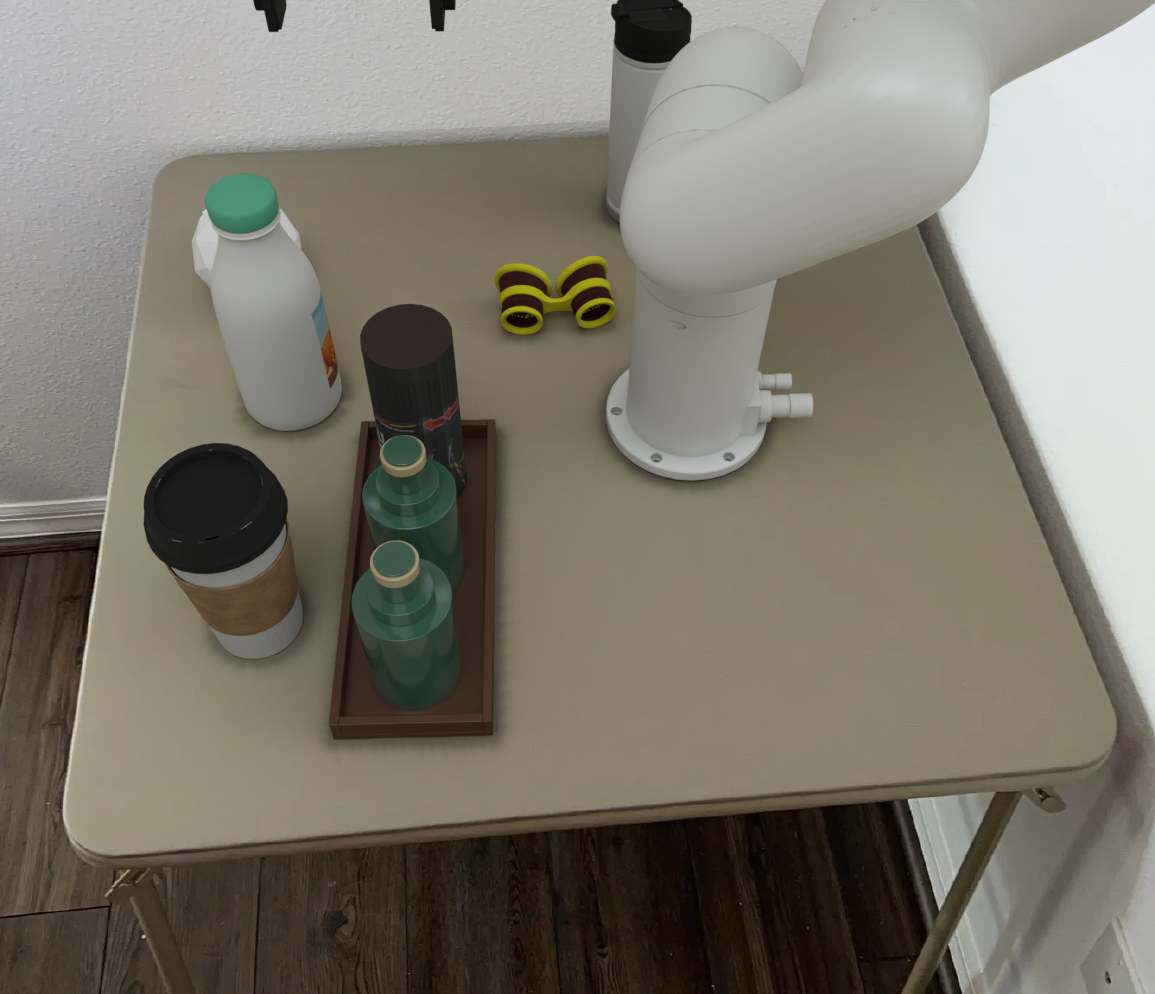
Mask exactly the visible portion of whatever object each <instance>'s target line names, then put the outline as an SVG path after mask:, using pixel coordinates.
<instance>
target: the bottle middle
mask: <svg viewBox="0 0 1155 994" xmlns="http://www.w3.org/2000/svg"><path fill="white" fill-rule="evenodd" d="M380 459H381V464H382V465H381V466H379V467H378V468H377V469H375V470H374V471H373V472H372V473H371V475H370V476H369V477H368V479H367V481H366V483H365V485H364V488H363V493H362V499H363V505H364V509H365V514H366V518H367V523H368V527H369V531H370V536H371V540H372V545H373V549H374V551H375V549H376V548H377V547H379V546H380V545H382V544H384V543H386V542H389V541H404V542H407V543H409V544H411V545H412V546H413V547H414V548H415V549H416V550H417V552H418V555H419V558H421V559H424V560H427V561H429V562H431V563H433V564H435V565H436V566H437V567H439V568H440V569H441V570H442V571H443V572H444V574H445V575H446V576H447V578H448V580H449V582H450V585H451V589H452V592H453V591H454V590H455V589H456V588H457V587H458V585H459V584H460V582H461V580H462V578H463V575H464V570H465V562H464V554H463V545H462V536H461V527H460V518H459V509H458V500H457V491H456V485H455V481H454V478H453V476H452V475H451V473H450V472H449V471H448V470H447V469H446V468H445V467H444V466H443V465H442V464H440V463H439V462H437V461H435V460H432V459H430V458H427V457H426V450H425V446H424V444H423V443H422V442H421V441H420V440H419V439H417V438H415V437H413V436H409V435H400V436H395V437H393V438H391V439H389V440H388V441H386V442H385V443H384V445H383V446H382V448H381V450H380Z"/></svg>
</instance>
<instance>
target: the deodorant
mask: <svg viewBox="0 0 1155 994" xmlns="http://www.w3.org/2000/svg"><path fill="white" fill-rule="evenodd" d="M450 323H451V322H450V321H449V319H448V318H447V317H446V316H445V315H444V314H443V313H442V312H440V311H438V310H436V309H435V308H433V307H430V306H427V305H424V304H418V303H404V304H403V303H402V304H401V303H400V304H395V305H392V306H388V307H385V308H384V309H382V310H379V311H378V312H375V314H373V315H372V316H371V317H369V318H368V319H367V320H366V322H365V323H364V325H363V326H362V328H361V331H360V335H359V345H360V350H361V355H362V360H363V361H362V362H363V365H364V370H365V377H366V381H367V386H368V392H369V397H370V402H371V407H372V412H373V413H372V414H373V417H374V421H375V424H376V429H377V434H378V439H379V444H380V450H381V448H382V446H383V445H384V443H385V442H386V441H388V440H389V439H391V438H393V437H395V436H400V435H409V436H413V437H415V438H417V439H419V440H420V441H421V442H422V443H423V444H424V446H425V450H426V457H427V458H430V459H432V460H435V461H437V462H439V463H440V464H442V465H443V466H444V467H445V468H446V469H447V470H448V471H449V472H450V473H451V475H452V476H453V478H454V481H455V485H456V491H457V498H458V497H459V496H461V494H462V492H463V490H464V489H465V486H466V482H467V475H466V465H465V455H464V445H463V435H462V425H461V420H462V416H461V415H462V414H461V405H460V397H459V395H460V394H459V387H458V375H457V367H456V357H455V355H456V354H455V346H454V336H453V335H454V334H453V327H452V325H451V324H450Z"/></svg>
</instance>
